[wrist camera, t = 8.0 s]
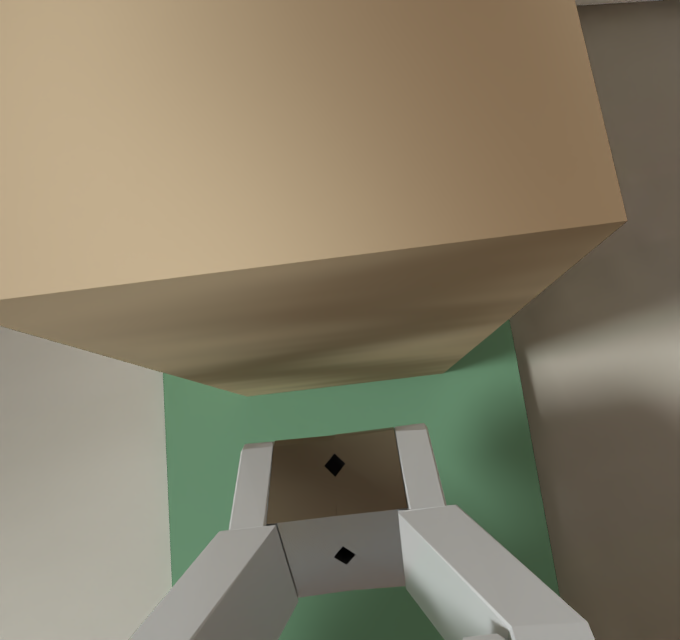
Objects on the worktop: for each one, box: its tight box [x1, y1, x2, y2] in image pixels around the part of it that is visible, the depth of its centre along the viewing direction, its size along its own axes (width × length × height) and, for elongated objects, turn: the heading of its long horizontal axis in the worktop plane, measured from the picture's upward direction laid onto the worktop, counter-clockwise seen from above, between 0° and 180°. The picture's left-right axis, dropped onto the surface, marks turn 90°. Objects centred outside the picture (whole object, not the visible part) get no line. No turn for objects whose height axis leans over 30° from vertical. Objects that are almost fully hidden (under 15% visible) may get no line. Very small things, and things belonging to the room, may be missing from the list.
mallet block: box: [0, 0, 628, 397], centre depth 10 cm, size 5×10×10 cm, turn 6°
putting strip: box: [163, 319, 560, 640], centre depth 15 cm, size 9×27×1 cm, turn 6°
